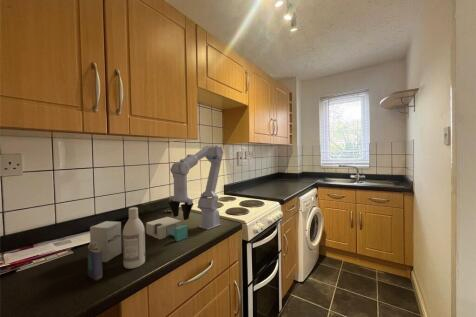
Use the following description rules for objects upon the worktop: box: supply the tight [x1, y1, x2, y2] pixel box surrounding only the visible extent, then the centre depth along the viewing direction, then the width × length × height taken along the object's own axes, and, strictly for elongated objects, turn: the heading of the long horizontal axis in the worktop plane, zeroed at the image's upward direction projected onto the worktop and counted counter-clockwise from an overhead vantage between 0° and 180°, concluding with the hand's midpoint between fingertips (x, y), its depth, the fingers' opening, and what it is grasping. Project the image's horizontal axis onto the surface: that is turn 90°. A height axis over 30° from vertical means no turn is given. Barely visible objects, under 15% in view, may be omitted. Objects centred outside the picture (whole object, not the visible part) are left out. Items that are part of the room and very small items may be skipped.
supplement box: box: [89, 220, 122, 263], centre depth 78 cm, size 7×7×13 cm
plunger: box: [155, 223, 161, 234], centre depth 97 cm, size 3×3×4 cm
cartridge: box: [166, 224, 189, 242], centre depth 98 cm, size 6×20×6 cm, turn 52°
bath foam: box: [122, 206, 146, 270], centre depth 72 cm, size 7×7×20 cm
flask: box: [87, 242, 104, 281], centre depth 66 cm, size 9×3×11 cm, turn 49°
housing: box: [145, 216, 182, 240], centre depth 102 cm, size 12×12×5 cm
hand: (180, 217), depth 93 cm, fingers open, 7 cm apart
